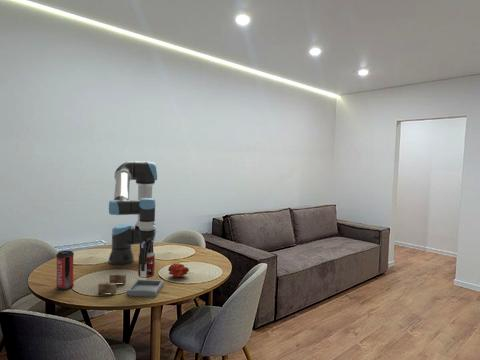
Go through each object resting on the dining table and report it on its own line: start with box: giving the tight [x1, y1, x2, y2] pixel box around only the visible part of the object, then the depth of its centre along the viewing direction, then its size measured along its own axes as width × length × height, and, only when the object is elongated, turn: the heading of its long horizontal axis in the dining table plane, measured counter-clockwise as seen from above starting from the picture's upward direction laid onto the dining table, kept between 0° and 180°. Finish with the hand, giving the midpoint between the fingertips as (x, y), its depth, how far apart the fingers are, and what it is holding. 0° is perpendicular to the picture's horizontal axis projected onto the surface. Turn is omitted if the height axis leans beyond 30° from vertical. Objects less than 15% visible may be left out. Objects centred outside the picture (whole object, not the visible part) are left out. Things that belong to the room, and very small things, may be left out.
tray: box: [126, 279, 165, 298], centre depth 156 cm, size 14×14×2 cm
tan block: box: [97, 273, 127, 295], centre depth 156 cm, size 8×14×5 cm, turn 178°
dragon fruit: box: [167, 262, 190, 279], centre depth 175 cm, size 8×8×12 cm
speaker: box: [55, 250, 75, 291], centre depth 155 cm, size 8×8×18 cm
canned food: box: [137, 251, 156, 279], centre depth 155 cm, size 8×8×11 cm
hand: (146, 273), depth 155 cm, fingers closed on canned food, 8 cm apart
